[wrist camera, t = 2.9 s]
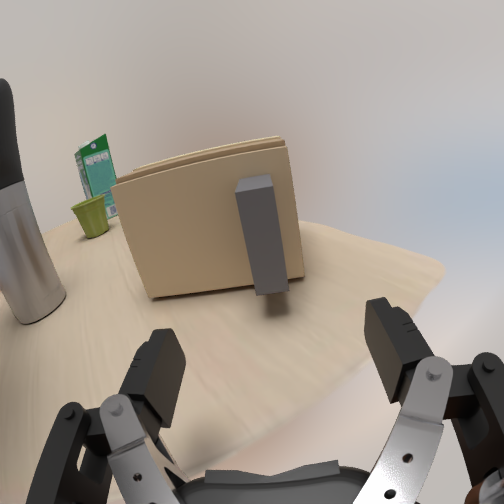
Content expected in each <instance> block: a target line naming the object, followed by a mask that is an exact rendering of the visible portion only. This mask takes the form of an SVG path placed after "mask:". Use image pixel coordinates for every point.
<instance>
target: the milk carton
mask: <svg viewBox="0 0 504 504" xmlns="http://www.w3.org/2000/svg"><path fill="white" fill-rule="evenodd" d="M78 148H79V151H78V152H76V153H75V158H76V162H77V167H78V170H79V174H80V178H81V182H82V185H83V189H84V192H85V196H86V199H87V200H88V199H90V198H93V197H96V196H99V195H102V194H105V196H104V199H105V203H104V204H105V210H106V216H107V220H108V219H110V218H112V217H114V216H116V215H118V212H117V209H116V206H115V203H114V199H113V196H112V192H111V189H110V187H112V186H114V185H116V181H115V179H117V178H116V175H115V171H114V167H113V163H112V159H111V155H110V151H109V146H108V142H107V137H106V134H104V135H102V136H101V137H99V138H98V139H96V140H94V141H92V142H91V143H90V142H89V141H86V142H85V143H83V144H81V145H80V146H79V147H78Z"/></svg>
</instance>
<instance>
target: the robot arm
mask: <svg viewBox="0 0 504 504" xmlns="http://www.w3.org/2000/svg"><path fill="white" fill-rule="evenodd" d="M0 289H1V291H2V293H3V295H4V297H5V299H6V301H7V303H8V305H9V306H10V308H11V310H12V312H13V314H14V315H15V317H16V318H18V320H19V321H20V322H21V323H23V324H28V323H32V322H35V321H37V320H39V319H41V318H43V317H44V316H46V315H48V314H49V313H50V312H52V311H53V310H54V309H55V308H56V307H57V306H58V305H59V304H60V303H61V302H62V301H63V299H64V297H65V295H66V292H65V289H64V287H63V285H62V283H61V281H60V279H59V277H58V274H57V272H56V270H55V267H54V265H53V263H52V260H51V258H50V256H49V253H48V251H47V248H46V246H45V243H44V241H43V238H42V235H41V233H40V230H39V227H38V225H37V221H36V218H35V216H34V212H33V209H32V206H31V203H30V200H29V196H28V193H27V189H26V186H25V182H24V177H23V173H22V168H21V161H20V155H19V150H18V144H17V137H16V126H15V113H14V103H13V95H12V91H11V88H10V86H9V84H8V82H7V81H6V80H5V79H0ZM364 334H365V340H366V343H367V346H368V348H369V351H370V353H371V355H372V358H373V360H374V363H375V365H376V368H377V370H378V373H379V375H380V378H381V380H382V383H383V386H384V388H385V391H386V393H387V396H388V399H389V402H390V404H392V403H395V402H398V401H399V402H400V404H401V407H402V408H401V410H400V412H399V415H398V417H397V419H396V422H395V425H394V426H393V429H392V431H391V433H390V435H389V438H388V440H387V442H386V444H385V446H384V448H383V450H382V452H381V454H380V456H379V458H378V460H377V461H376V463H375V465H374V467H373V469H372V471H371V472H370V473H369V472H367V471H364V470H361V469H358V468H353V467H346V466H339V465H338V460H334V461H328V462H323V463H317V464H310V465H304V466H301V467H299V468H296V469H293V470H290V471H287V472H283V473H280V474H277V475H274V476H264V475H258V474H253V473H248V472H242V471H238V470H206V472H205V477H201V478H197V479H194V480H192V481H190V479H189V478H188V477H187V476H186V475H185V474H184V472H183V471H182V470H181V469H180V467H179V466H178V464H177V463H176V461H175V460H174V458H173V456H172V455H171V453H170V451H169V450H168V448H167V446H166V444H165V443H164V441H163V439H162V437H161V436H160V434H159V430H160V427H162V428H170V427H171V423H172V419H173V414H174V410H175V406H176V402H177V398H178V394H179V390H180V386H181V382H182V378H183V374H184V370H185V366H186V360H185V355H184V352H183V350H182V348H181V346H180V344H179V342H178V340H177V337H176V335H175V333H174V331H173V330H172V329H171V328H169V329H156V330H154V331H153V332H152V334H151V336H150V339H149V341H148V342H144V343H143V344H142V345H141V346H140V348H139V349H138V350H137V352H136V354H135V356H134V358H133V361H132V363H131V365H130V368H129V370H128V372H127V374H126V376H125V379H124V381H123V383H122V386H121V388H120V390H119V393H118V394H116V395H112V396H110V397H108V398H107V399H106V400H105V401H104V402H103V403H102V405H101V407H99V408H93V409H87V410H85V409H84V408H83V407H82V406H81V405H80V404H79V403H77V402H70V403H67V404H66V405H64V406H63V407H62V408H61V409H60V411H59V413H58V415H57V417H56V420H55V422H54V424H53V427H52V429H51V431H50V434H49V436H48V439H47V441H46V444H45V446H44V449H43V452H42V454H41V457H40V460H39V463H38V465H37V468H36V471H35V474H34V477H33V480H32V484H31V487H30V490H29V494H28V497H27V501H26V504H106V503H107V498H108V493H109V489H110V484H111V479H112V475H114V478H115V480H116V482H117V485H118V487H119V489H120V492H121V494H122V496H123V498H124V501H125V503H126V504H420V503H418V502H416V499H417V497H418V495H419V493H420V491H421V489H422V486H423V484H424V482H425V479H426V477H427V475H428V472H429V470H430V467H431V465H432V462H433V460H434V456H435V454H436V451H437V448H438V445H439V442H440V439H441V436H442V433H443V428H444V425H443V424H442V420H446V419H451V421H452V424H453V427H454V430H455V432H456V435H457V438H458V441H459V444H460V447H461V450H462V453H463V457H464V460H465V463H466V466H467V470H468V474H469V477H470V481H471V485H472V489H471V490H470V491H469V493H468V494H467V496H466V499H465V503H464V504H504V364H503V362H502V361H501V359H500V358H499V357H498V356H496V355H495V354H492V353H488V352H484V353H481V354H479V355H477V356H476V357H475V358H474V360H473V362H472V364H467V365H450V363H449V362H448V361H447V360H445V359H443V358H441V357H436V356H434V354H433V352H432V351H431V349H430V347H429V346H428V344H427V342H426V341H425V339H424V338H423V336H422V334H421V333H420V331H419V330H418V329H417V327H416V325H415V324H414V323H413V320H412V319H411V317H410V316H409V314H408V313H407V312H405V311H404V310H403V309H401V308H400V307H398V306H397V307H393V308H392V307H391V305H390V304H389V302H388V301H387V299H386V298H385V297H381V298H377V299H372V300H368V301H367V302H366V311H365V326H364ZM82 445H83V446H84V447H85V448H86V451H85V454H84V457H83V460H82V464H81V467H80V471H78V469H77V460H78V457H79V454H80V451H81V448H82Z"/></svg>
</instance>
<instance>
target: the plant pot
mask: <svg viewBox="0 0 504 504" xmlns="http://www.w3.org/2000/svg"><path fill="white" fill-rule="evenodd" d="M104 196H105V194H102V195H99V196H96V197H93V198H90V199H88V200H85V201H83V202H81V203H79V204H76V205H74V206H73V207H71V210H73V212H74V214H75V215H76V216H77V218H78V220H79V222H80V224H81V226H82V228H83V230H84V232H85V234H86V236H87V238H90V237H92V238H93V237H97V236H99V235H101V234H103V233H104V232H105V231H108V230H109V227H108V221H107V216H106V210H105V204H104V203H105V199H104Z"/></svg>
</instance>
